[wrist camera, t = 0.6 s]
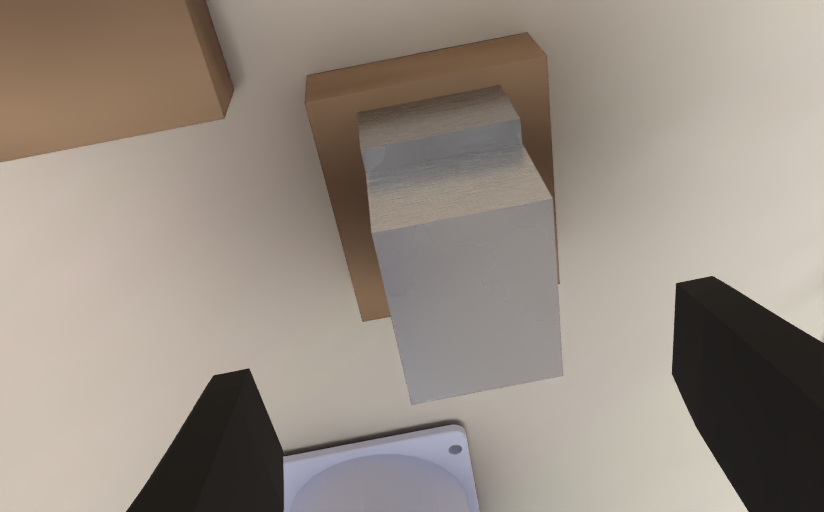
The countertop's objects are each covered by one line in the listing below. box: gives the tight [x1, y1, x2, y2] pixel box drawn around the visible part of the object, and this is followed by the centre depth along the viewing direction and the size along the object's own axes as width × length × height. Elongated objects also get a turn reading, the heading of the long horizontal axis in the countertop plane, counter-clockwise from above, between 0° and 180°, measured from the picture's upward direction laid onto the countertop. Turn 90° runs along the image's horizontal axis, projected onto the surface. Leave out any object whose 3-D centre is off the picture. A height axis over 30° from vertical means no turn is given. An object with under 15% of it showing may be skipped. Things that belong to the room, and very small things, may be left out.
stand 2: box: [305, 33, 560, 322], centre depth 20 cm, size 7×6×2 cm
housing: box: [357, 85, 563, 405], centre depth 17 cm, size 6×4×5 cm, turn 9°
